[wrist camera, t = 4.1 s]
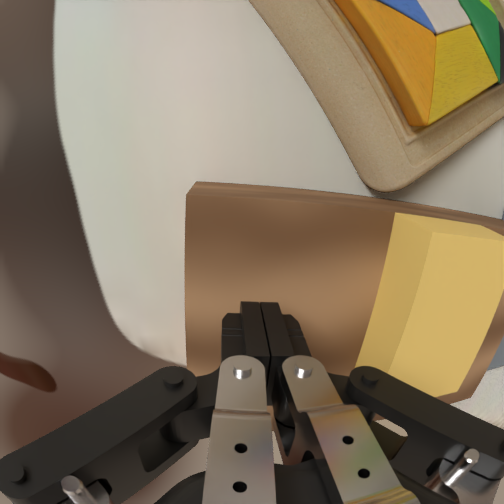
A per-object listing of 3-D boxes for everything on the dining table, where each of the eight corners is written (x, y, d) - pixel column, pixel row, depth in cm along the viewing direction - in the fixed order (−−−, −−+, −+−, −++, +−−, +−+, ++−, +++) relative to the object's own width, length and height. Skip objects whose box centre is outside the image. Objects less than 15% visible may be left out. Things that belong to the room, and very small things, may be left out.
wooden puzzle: (527, 94, 15) (557, 96, 12) (365, 197, 17) (394, 210, 14) (421, -84, 9) (442, -101, 6) (207, -43, 12) (205, -74, 8)
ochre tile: (395, 212, 13) (432, 232, 10) (480, 225, 14) (517, 243, 11) (353, 371, 16) (371, 409, 13) (434, 362, 17) (457, 391, 14)
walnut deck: (196, 181, 16) (186, 194, 12) (502, 219, 18) (538, 236, 14) (194, 386, 21) (190, 429, 17) (449, 370, 23) (470, 397, 19)
